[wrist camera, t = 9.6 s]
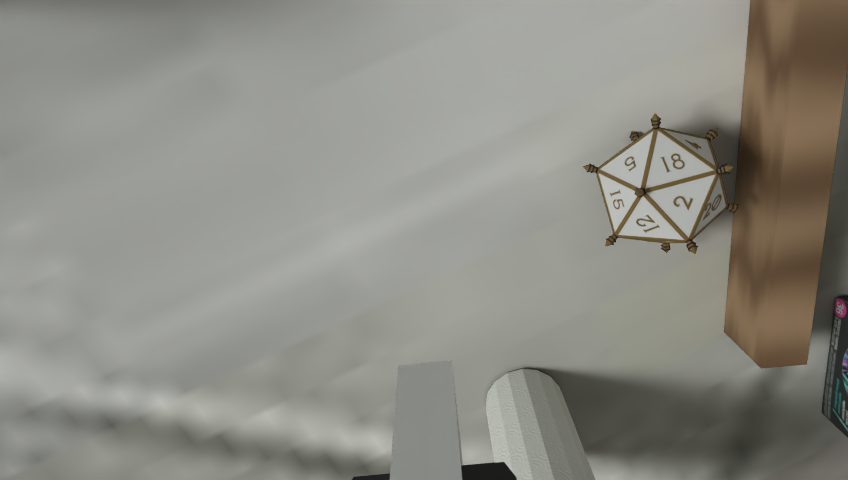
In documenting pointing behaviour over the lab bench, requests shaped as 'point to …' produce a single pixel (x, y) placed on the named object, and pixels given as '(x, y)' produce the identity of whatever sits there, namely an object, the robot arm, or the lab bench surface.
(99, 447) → the lab bench surface
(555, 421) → the paper towel roll
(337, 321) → the lab bench surface
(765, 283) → the board
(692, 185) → the game die
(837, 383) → the tampon box
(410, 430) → the robot arm
